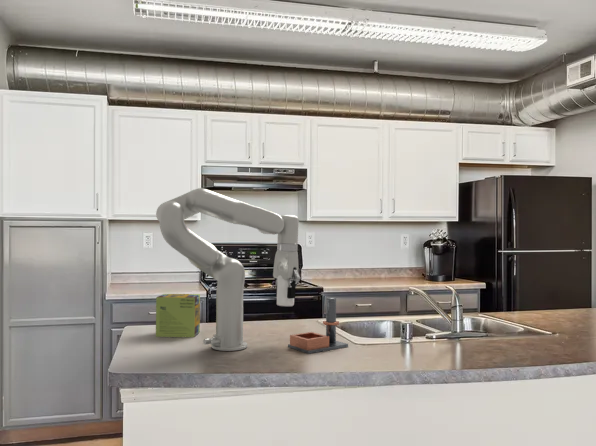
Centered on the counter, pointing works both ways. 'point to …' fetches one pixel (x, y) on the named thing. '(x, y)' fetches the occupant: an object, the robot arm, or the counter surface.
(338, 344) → the grey and orange stand
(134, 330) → the counter surface
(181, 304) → the protein box
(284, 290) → the can
